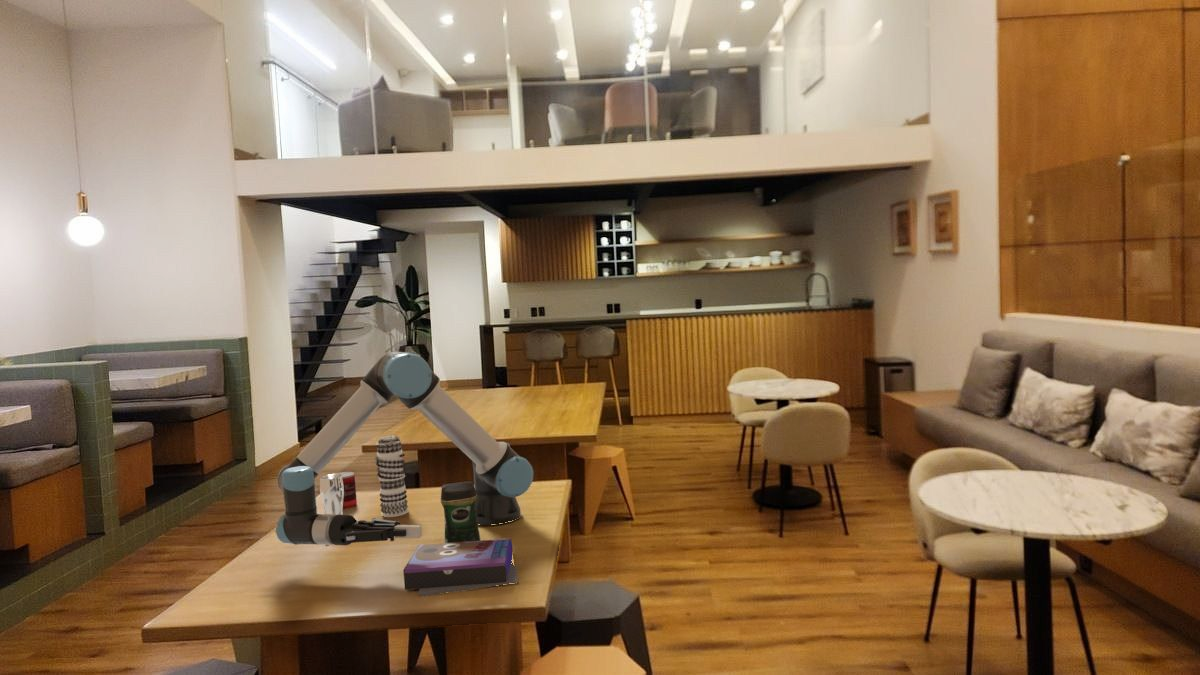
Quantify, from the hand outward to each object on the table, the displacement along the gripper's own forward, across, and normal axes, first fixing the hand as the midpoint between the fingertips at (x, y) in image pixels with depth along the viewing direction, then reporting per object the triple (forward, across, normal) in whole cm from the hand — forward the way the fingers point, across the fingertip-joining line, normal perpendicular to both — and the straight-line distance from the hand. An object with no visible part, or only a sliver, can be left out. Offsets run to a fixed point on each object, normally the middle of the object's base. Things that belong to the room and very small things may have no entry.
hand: (420, 531), depth 183 cm
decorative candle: (-38, -52, -12) cm, 66 cm away
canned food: (-61, -59, -12) cm, 86 cm away
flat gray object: (+10, -5, -12) cm, 16 cm away
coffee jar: (+1, -20, -12) cm, 24 cm away
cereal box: (-3, 0, -9) cm, 10 cm away
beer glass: (-53, -41, -12) cm, 68 cm away
